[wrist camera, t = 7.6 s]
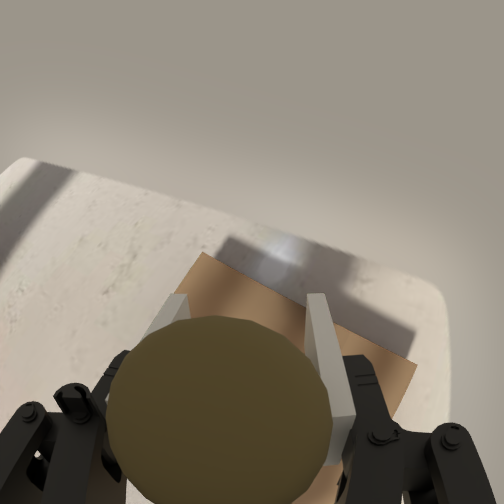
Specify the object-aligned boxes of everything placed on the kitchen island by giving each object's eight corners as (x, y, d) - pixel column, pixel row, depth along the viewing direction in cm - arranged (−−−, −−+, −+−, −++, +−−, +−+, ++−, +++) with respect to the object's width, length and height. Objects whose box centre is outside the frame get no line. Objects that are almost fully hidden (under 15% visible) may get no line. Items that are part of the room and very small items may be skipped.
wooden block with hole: (127, 393, 26) (109, 393, 22) (210, 266, 31) (202, 251, 28) (318, 506, 19) (323, 521, 16) (402, 367, 25) (417, 364, 21)
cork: (239, 325, 16) (176, 223, 6) (330, 385, 14) (428, 385, 4) (174, 408, 14) (28, 423, 4) (263, 472, 13) (237, 596, 3)
